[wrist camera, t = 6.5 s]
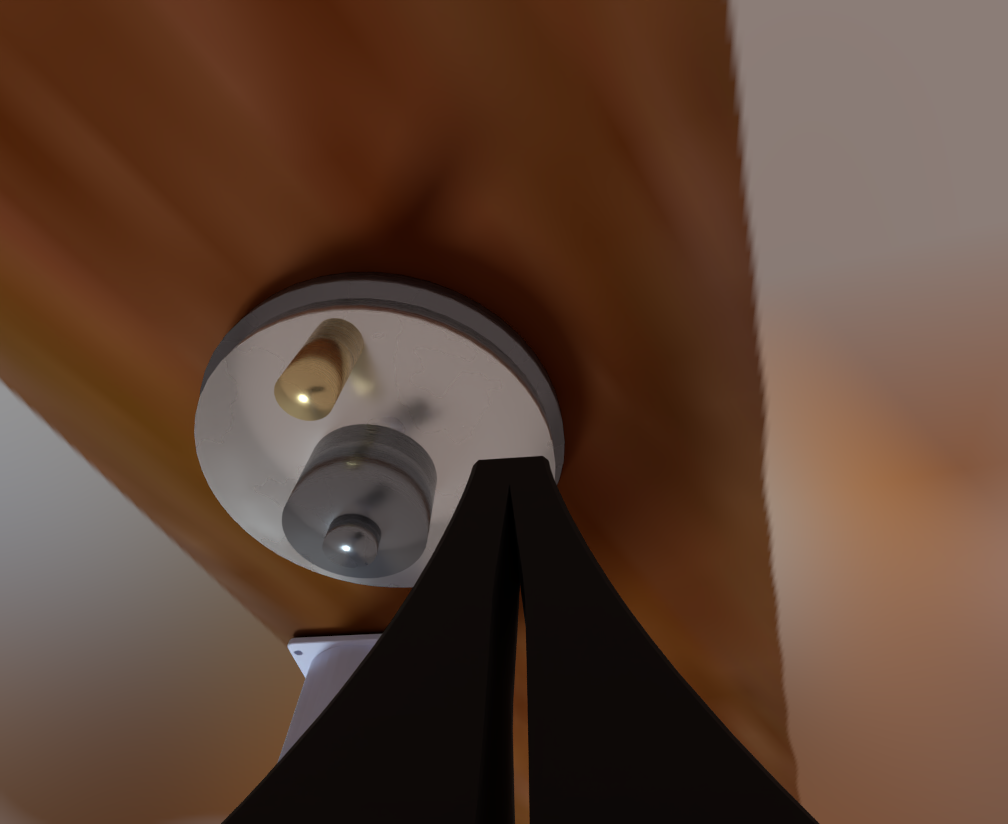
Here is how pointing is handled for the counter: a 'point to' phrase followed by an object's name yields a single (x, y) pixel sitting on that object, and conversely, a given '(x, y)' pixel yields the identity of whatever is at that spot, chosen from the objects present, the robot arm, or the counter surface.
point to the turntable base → (415, 295)
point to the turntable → (359, 408)
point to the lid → (362, 502)
